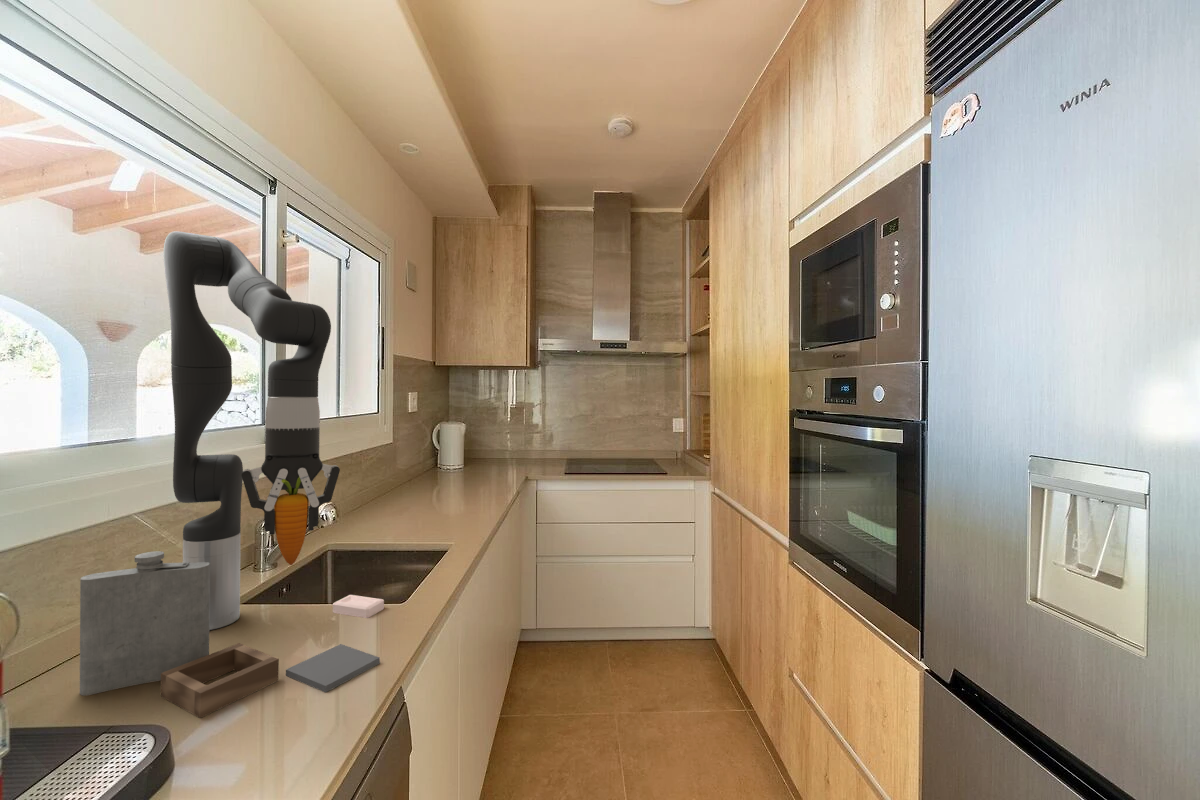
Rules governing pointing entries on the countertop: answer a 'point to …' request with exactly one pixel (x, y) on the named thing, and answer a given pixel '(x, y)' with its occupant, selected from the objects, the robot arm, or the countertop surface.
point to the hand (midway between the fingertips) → (292, 531)
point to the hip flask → (142, 622)
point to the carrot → (291, 521)
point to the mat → (332, 667)
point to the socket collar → (204, 699)
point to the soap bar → (358, 606)
